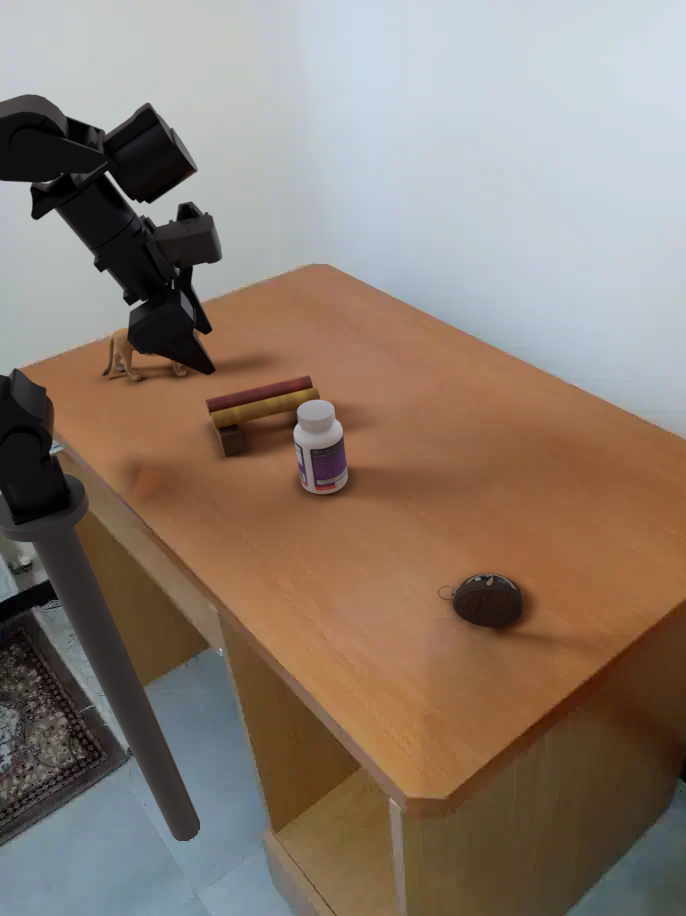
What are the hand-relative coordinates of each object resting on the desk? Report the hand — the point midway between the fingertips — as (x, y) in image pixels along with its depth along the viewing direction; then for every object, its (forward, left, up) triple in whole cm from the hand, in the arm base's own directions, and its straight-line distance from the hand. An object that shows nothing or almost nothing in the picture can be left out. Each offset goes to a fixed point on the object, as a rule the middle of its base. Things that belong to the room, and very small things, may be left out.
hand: (210, 351), depth 86 cm
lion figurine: (-3, +24, -14) cm, 28 cm away
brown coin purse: (+12, -35, -14) cm, 40 cm away
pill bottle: (+7, -10, -14) cm, 19 cm away
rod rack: (+5, +3, -14) cm, 15 cm away
